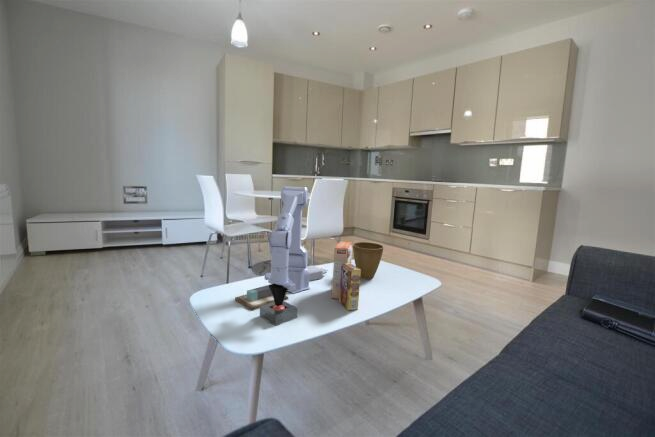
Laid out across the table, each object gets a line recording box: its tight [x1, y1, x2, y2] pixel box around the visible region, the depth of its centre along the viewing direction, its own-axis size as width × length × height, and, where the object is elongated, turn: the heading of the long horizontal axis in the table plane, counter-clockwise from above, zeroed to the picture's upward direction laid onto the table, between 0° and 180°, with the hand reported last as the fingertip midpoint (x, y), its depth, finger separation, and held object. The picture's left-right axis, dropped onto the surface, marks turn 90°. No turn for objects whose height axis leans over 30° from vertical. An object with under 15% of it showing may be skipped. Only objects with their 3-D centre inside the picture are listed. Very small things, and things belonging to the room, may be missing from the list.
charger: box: [306, 265, 329, 282], centre depth 150 cm, size 5×9×15 cm
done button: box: [273, 305, 285, 311], centre depth 106 cm, size 4×4×2 cm
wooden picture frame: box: [234, 293, 289, 311], centre depth 120 cm, size 16×12×1 cm
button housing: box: [259, 300, 298, 327], centre depth 106 cm, size 9×9×4 cm
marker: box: [246, 283, 272, 301], centre depth 120 cm, size 12×3×3 cm, turn 136°
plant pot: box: [352, 241, 385, 280], centre depth 152 cm, size 15×15×16 cm
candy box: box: [338, 263, 361, 311], centre depth 117 cm, size 9×4×15 cm, turn 21°
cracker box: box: [331, 240, 354, 300], centre depth 129 cm, size 14×6×21 cm, turn 168°
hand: (278, 305), depth 106 cm, fingers closed
